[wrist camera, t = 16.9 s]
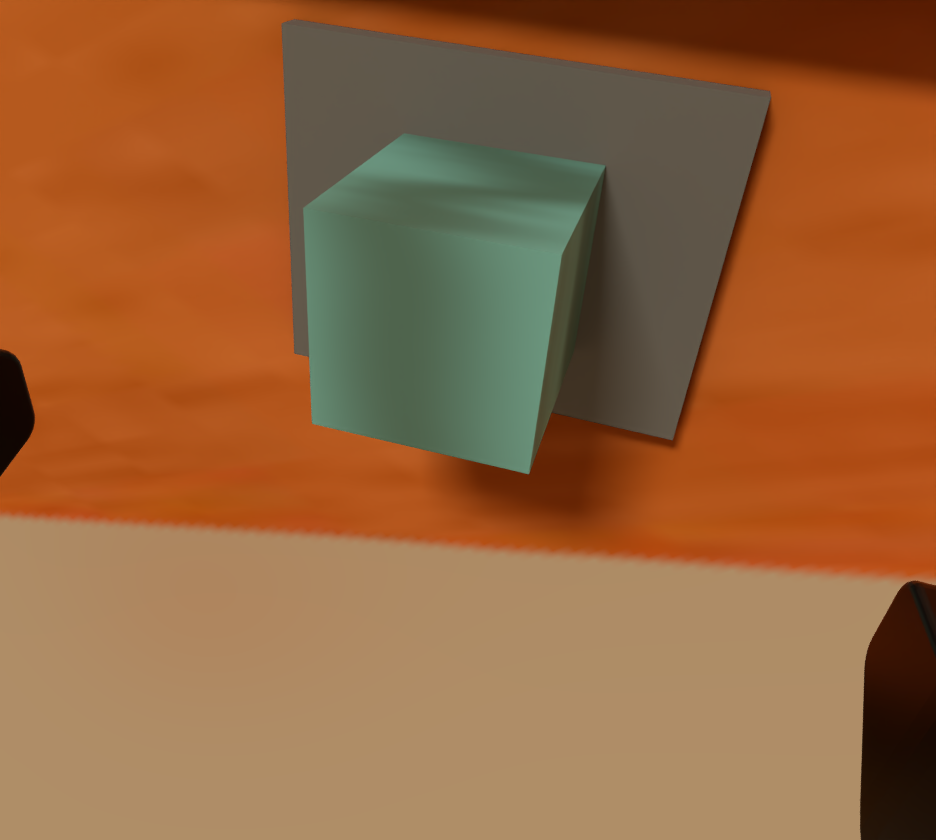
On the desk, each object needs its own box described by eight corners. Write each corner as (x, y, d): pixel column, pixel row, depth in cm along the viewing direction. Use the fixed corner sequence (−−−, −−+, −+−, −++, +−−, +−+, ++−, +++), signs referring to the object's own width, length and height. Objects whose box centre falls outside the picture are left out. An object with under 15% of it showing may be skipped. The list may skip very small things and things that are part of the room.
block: (605, 165, 17) (561, 254, 13) (574, 351, 19) (528, 474, 15) (404, 133, 18) (303, 207, 14) (398, 315, 20) (312, 423, 16)
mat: (770, 90, 16) (770, 97, 15) (674, 427, 20) (672, 440, 20) (294, 19, 18) (281, 22, 17) (304, 342, 22) (294, 353, 22)
